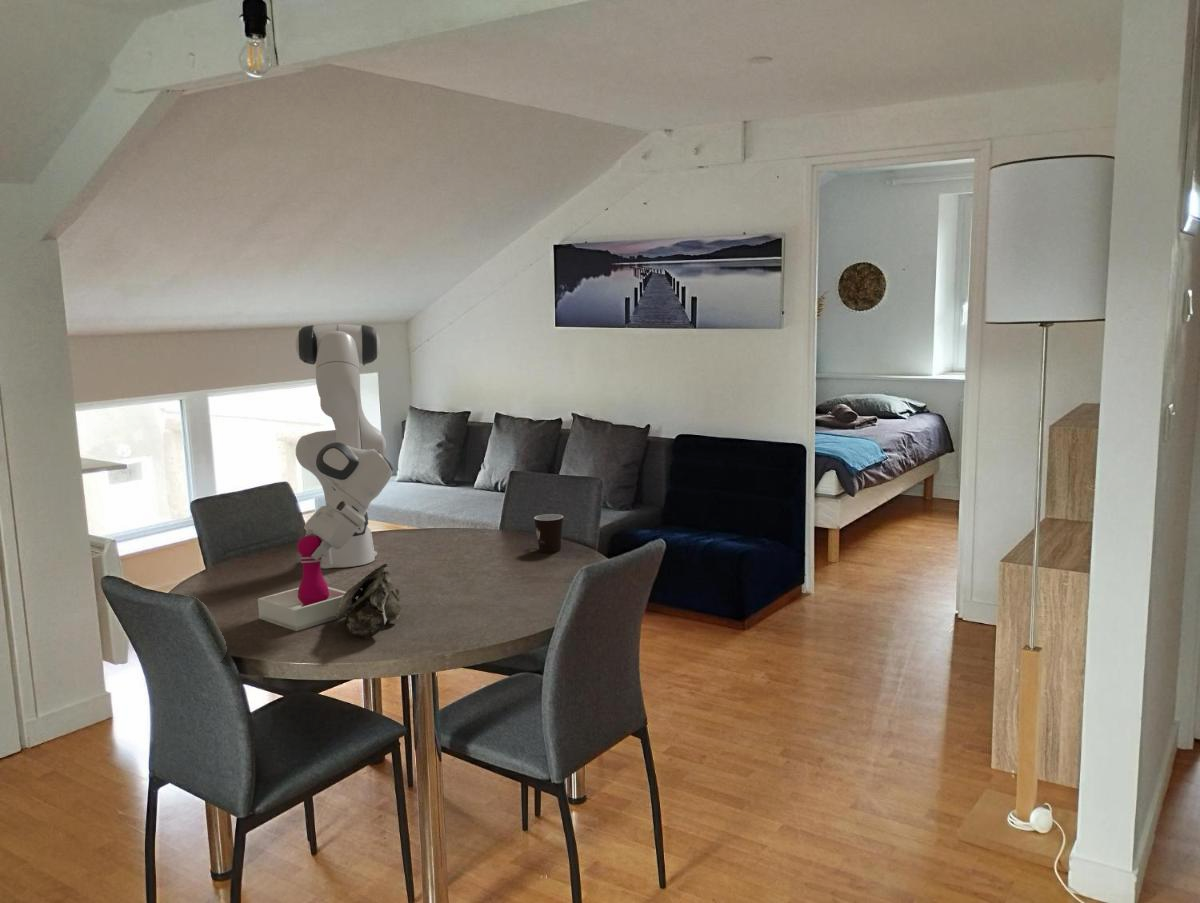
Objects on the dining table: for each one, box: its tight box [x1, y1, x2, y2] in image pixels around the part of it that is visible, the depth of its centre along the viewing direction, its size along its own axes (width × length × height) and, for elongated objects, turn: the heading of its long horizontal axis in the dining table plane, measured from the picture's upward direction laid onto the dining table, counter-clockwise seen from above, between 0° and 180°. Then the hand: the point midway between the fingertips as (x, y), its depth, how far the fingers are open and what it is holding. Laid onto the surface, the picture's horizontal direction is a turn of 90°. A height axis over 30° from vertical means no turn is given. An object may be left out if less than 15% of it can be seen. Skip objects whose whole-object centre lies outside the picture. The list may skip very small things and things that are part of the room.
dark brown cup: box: [533, 513, 564, 554], centre depth 299 cm, size 12×9×10 cm
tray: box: [257, 586, 347, 632], centre depth 242 cm, size 16×16×5 cm
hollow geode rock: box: [334, 563, 403, 640], centre depth 232 cm, size 28×13×15 cm
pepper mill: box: [297, 529, 329, 607], centre depth 240 cm, size 7×7×20 cm
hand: (307, 554), depth 241 cm, fingers open, 8 cm apart
